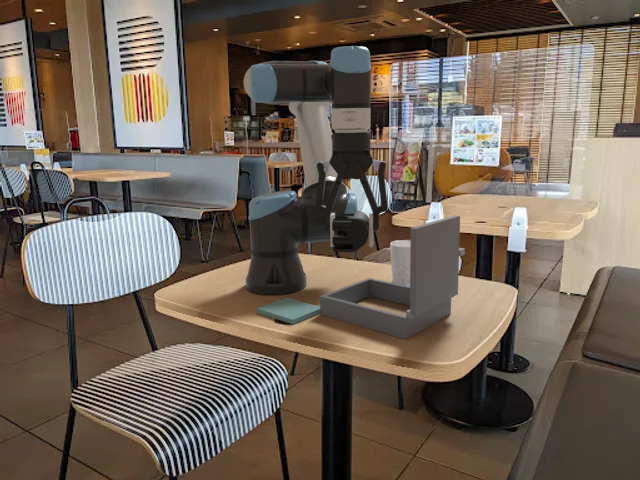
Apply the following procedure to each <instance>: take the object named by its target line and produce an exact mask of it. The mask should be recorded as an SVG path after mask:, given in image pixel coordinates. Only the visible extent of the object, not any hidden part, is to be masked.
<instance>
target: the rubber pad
mask: <svg viewBox="0 0 640 480" xmlns="http://www.w3.org/2000/svg"><path fill="white" fill-rule="evenodd" d="M256 313H257V314H260V315H263V316H266V317H270V318H273V319H275V320H278V321H281V322H284V323H287V324H288V323H289V324H291V325H295V324H298V323H300V322H302V321H304V320H307V319H309V318H313V317H314V316H317V315H320V305H315V304H311V303H308V302H304V301H301V300H298V299H297V300H296V299H294V298H290V297H284V298H282V299H280V300H276V301H274V302H271V303H269V304H266V305H262V306H259V307H256Z"/></svg>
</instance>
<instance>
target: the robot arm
mask: <svg viewBox="0 0 640 480" xmlns="http://www.w3.org/2000/svg"><path fill="white" fill-rule="evenodd" d="M370 53H371V52H370V50H369V49H368V48H367V47H366V46H362V45H361V46H358V45H351V46H347V45H346V46H338V47H334V48H333V49H332V50H331V52H330V62H329V63H327V62H325V61H320V60H319V61H318V60H314V59H313V60H311V59H310V60H307V61H306V60H305V61H304V60H297V61H295V60H294V61H293V60H270V61H265V62H260V63H258V64H257V63H256V64H252V65H251V66H250V67H249V68H248V69H247V71H246V72H245V73H244V76H243V82H242V83H243V88H244V91H245V94H247V96H248V97H249V98H250V99H251V101H252V102H254V103H259V104H261V103H263V104H267V105H287V106H288V109H289V112H290V113H291V114H292V115H293V116H295V119H296V126H297V128H296V129H297V133H298V140H299V146H300V147H299V148H300V153H301V159H302V160H301V161H302V167H303V174H304V179H305V187H304V188H303V189H302V190H301V196H298V194H297V192H296V191H295V190H281V191H280V190H278V191H274V192H268V193H265V194H259V195H257V196H255V197H253V198H252V199H250V201H249V204H248V218H247V219H248V220H249V232H250V233H249V234H250V253H251V256H250V257H251V258H250V262H249V267H248V270H247V275H246V277H245V288H246V290H247V291H248V292H251V293H253V294H258V295H275V296H276V295H284V294H291V293H295V292H297V291H301V290H303V289H304V288H306V287H307V274H306V273H305V271H304V268H303V264H302V260H301V258H300V255H299V245H300V244H309V243H310V244H313V243H326V242H327V243H328V242H330V248H333V247H334V245H333V244H332V237H336V236H337V231H332V221H333V219H334V218H336V215H337V214H355V212H356V210H358V198H357V196H356V195H355V193H351V192H349V193H348V190H347V185H346V184H345V183H344V182H343V180H350V179H352V180H359V182H360V184H361V186H362V189H363V191H364V194H365V196H366V199H367V201H368V204H369V207H370V209H371V212H369V214H368V217H369V236H368V245H369V246H368V247H369V248H373V247H374V231H379V228H380V214H382V213H384V212H388V210H389V205H388V197H387V188H386V179H385V170H386V166H387V163H386V161H385V160H378V159H377V160H376V159H373V157H372V154H371V133H370V132H369V131H368V130H370V129H371V111H372V109H371V79H372V78H371V70H372V65H371V54H370ZM330 105H331V128H330V123H329V116H328V112H327V111H328V109H329V108H330ZM330 129H332V130H333V131H334V132H332V133H331V130H330ZM372 166H373V168H374V171H375V172H377V181H378V189H379V197H380V203H381V204H380V205H378V203H377V201H376V198H375V196H374V193H373V190H372V188H371V186H370V183H369V180H368V177H367V174H366V173H368V170H369V169H370V168H371V167H372ZM358 211H359V210H358Z"/></svg>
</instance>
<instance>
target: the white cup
mask: <svg viewBox="0 0 640 480" xmlns="http://www.w3.org/2000/svg"><path fill="white" fill-rule="evenodd" d="M389 246H390V264H391V268H390V269H391V277H392V281H391V283H396V284H401V285H407V284H410V239H404V240H401V239H400V240H393V241H391V242H390V245H389Z"/></svg>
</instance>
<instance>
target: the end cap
mask: <svg viewBox="0 0 640 480" xmlns="http://www.w3.org/2000/svg"><path fill="white" fill-rule="evenodd" d="M332 231H337V236H336V237H332V244H333V245H334V247H332V251H333V252H334V253H355V252H357V251H358V250H360V249H361V248H362V247H364V246H365V245H366V243H367V241H369V215H367V214H366V212H364V211H362V210H356V212H355V214H337V215H336V218H334V219H333V221H332Z"/></svg>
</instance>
